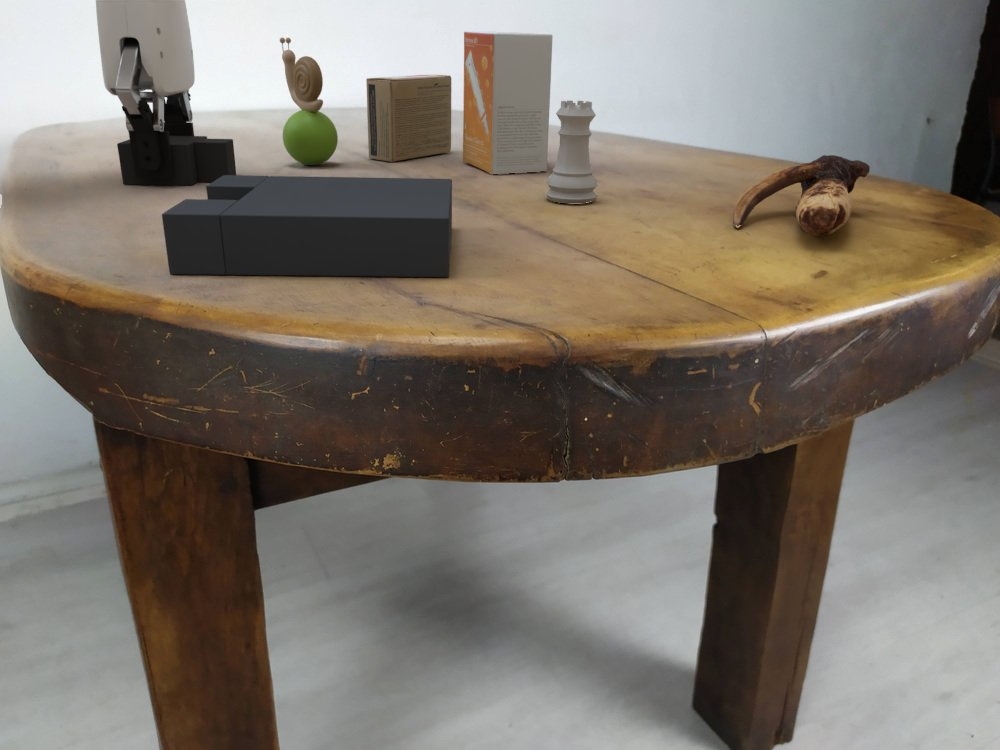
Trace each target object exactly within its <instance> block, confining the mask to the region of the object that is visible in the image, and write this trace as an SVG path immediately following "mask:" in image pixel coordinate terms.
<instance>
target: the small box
mask: <svg viewBox="0 0 1000 750" xmlns="http://www.w3.org/2000/svg"><path fill="white" fill-rule="evenodd" d="M552 58H553V34H552V33H533V32H518V31H517V32H514V31H464V32H463V117H462V118H463V119H462V120H463V126H462V127H463V128H462V162H464V163H466V164H469V165H472V166H474V167H476V168H478V169H480V170H482V171H484V172H486V173H488V174H490V175H492V176H494V175H493V174H498V175H510V174H509V173H515V174H528V173H527V172H537V173H541V172H540V171H546V172H547V171H548V154H549V153H548V152H549V131H550V130H549V127H550V107H551V105H550V104H551V85H552V84H551V83H552V82H551V81H552V61H553V60H552Z"/></svg>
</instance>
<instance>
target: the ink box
mask: <svg viewBox="0 0 1000 750" xmlns="http://www.w3.org/2000/svg"><path fill="white" fill-rule="evenodd" d="M365 81H366V110H367V142H368V143H367V145H368V158H369V159H371V160H376V161H383V162H388V163H394V162H398V161H405V160H411V159H416V158H421V157H427V156H433V155H439V154H446V153H447V154H448V153H450V152H451V149H452V77H451V75H447V74H416V75H398V76H384V77H383V76H381V77H367V78H366V79H365Z"/></svg>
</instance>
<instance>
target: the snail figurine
mask: <svg viewBox="0 0 1000 750" xmlns="http://www.w3.org/2000/svg"><path fill="white" fill-rule="evenodd" d="M279 42H280V43H281V47H282V54H281V59H282V63H283V65H284V75H285V80H286V85H287V88H288V91H289V94H290V97H291V100H292V101H293V102H294V104H295V105H296V106H297V107H298V108H299V109H301V110H299V111H296V112H294V113H293V114H292V115H290V117H288V119H287V120H286V122H285V124H284V125H283V129H282V142H283V145H284V148H285V150H286V152H287V153H288V155H289V156H290V157H291V158H292V159H293V160H295V161H296V162H298V163H300V164H303V165H306V166H317V165H321V164H323V163H326V162H327V161H328V160H329V159H331V157H332V156H333V155H334V154H335V152H336V149H337V146H338V142H339V136H338V131H337V128H336V125H335V124H334V122H333V121H332V119H331V118H329V116H327V115H326V114H325V113H323V112H322V111H320V110H321V109H322V107H323V105H324V100H323V99H321V98H320V99H319V97H320V95H321V94H322V91H323V86H324V85H323V84H324V82H323V81H324V80H323V73H322V70H321V67H320V65H319V63H318V62H317V60H316V59H314V58H313V57H311V56H308V55H306V56H305V55H304V56H301V57H299V58H298V60H297V61H296V58H297V57H296V54H295V52H294V51H292V50H291V49H290V44H291V42H292V39H291V37H286V38H285V37H280V38H279ZM285 43H286V44H287V49H285V50H284V44H285Z"/></svg>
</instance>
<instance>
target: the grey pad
mask: <svg viewBox="0 0 1000 750" xmlns="http://www.w3.org/2000/svg"><path fill="white" fill-rule="evenodd" d="M205 188H206V197H207V199H206V198H205V199H204V198H203V199H201V198H198V199H197V198H196V199H195V198H191V199H190V198H186V199H183V200H182V201H180V202H179V203H177V204H176V205H174V206H172V207H170V208H169V209H167V210H166V211H164V212H163V213H161V220H162V227H163V235H164V241H165V243H164V244H165V249H166V256H167V263H168V272H169V275H193V276H194V275H198V276H199V275H202V276H204V275H205V276H206V275H207V276H208V275H209V276H210V275H211V276H215V275H216V276H225V275H227V276H290V277H291V276H295V277H296V276H298V277H299V276H300V277H302V276H303V277H304V276H305V277H377V278H379V277H382V278H383V277H385V278H388V277H389V278H391V277H392V278H393V277H394V278H449V276H450V266H451V264H450V263H451V249H452V230H453V179H452V178H421V177H420V178H417V177H365V176H364V177H363V176H362V177H359V176H358V177H355V176H305V175H304V176H302V175H301V176H299V175H298V176H297V175H296V176H293V175H242V174H240V175H239V174H236V175H223V176H222V177H220V178H218V179H217V180H215V181H214V182H209V184H207V185H206V186H205Z"/></svg>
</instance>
